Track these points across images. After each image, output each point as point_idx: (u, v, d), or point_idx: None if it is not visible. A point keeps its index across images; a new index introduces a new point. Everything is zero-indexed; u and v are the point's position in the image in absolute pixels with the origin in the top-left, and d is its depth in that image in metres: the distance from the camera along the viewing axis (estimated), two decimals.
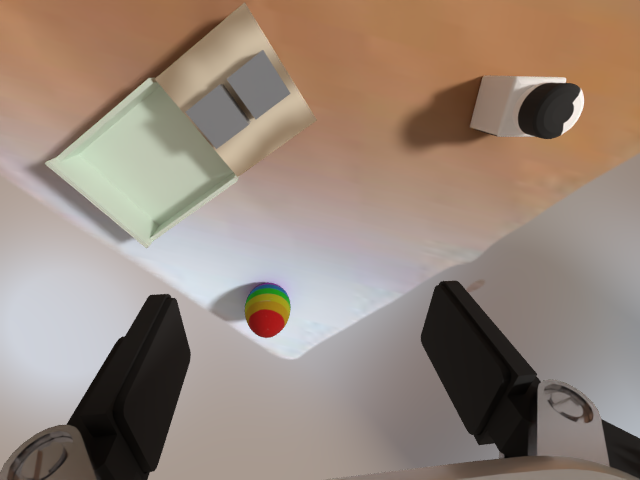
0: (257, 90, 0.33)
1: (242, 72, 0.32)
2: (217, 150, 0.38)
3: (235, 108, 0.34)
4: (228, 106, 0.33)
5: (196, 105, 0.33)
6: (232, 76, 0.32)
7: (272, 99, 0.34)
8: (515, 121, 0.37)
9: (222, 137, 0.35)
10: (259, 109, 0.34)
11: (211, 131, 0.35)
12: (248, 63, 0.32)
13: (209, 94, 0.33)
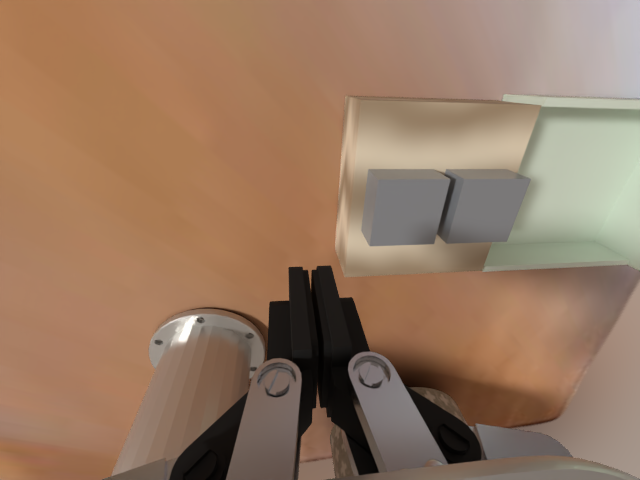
0: (414, 211, 0.21)
1: (412, 239, 0.22)
2: (517, 164, 0.23)
3: (457, 209, 0.21)
4: (462, 216, 0.21)
5: (489, 240, 0.23)
6: (425, 242, 0.22)
7: (407, 188, 0.20)
8: None
9: (508, 187, 0.21)
10: (433, 188, 0.20)
11: (509, 203, 0.21)
12: (397, 243, 0.22)
13: (466, 241, 0.22)
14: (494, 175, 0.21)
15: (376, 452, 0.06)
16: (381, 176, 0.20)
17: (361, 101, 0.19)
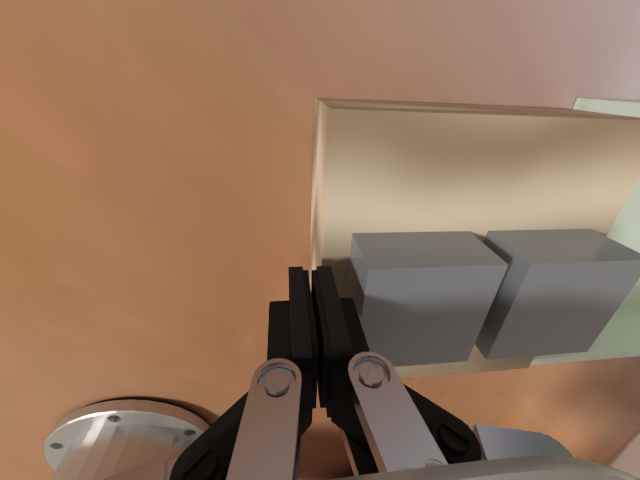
0: (436, 316, 0.11)
1: (429, 356, 0.12)
2: (610, 221, 0.13)
3: (512, 310, 0.11)
4: (518, 321, 0.12)
5: (559, 351, 0.13)
6: (452, 359, 0.12)
7: (424, 282, 0.10)
8: None
9: (608, 274, 0.11)
10: (475, 280, 0.10)
11: (605, 298, 0.12)
12: (402, 363, 0.12)
13: (519, 355, 0.13)
14: (580, 249, 0.11)
15: (376, 452, 0.06)
16: (375, 257, 0.10)
17: (333, 112, 0.09)
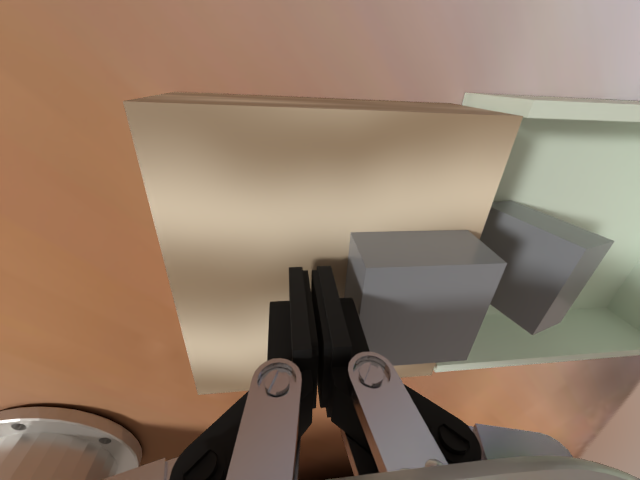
0: (435, 315, 0.11)
1: (428, 355, 0.12)
2: (480, 222, 0.12)
3: None
4: None
5: None
6: (451, 358, 0.12)
7: (422, 281, 0.10)
8: None
9: None
10: (473, 279, 0.10)
11: None
12: (401, 362, 0.12)
13: None
14: (541, 217, 0.15)
15: (376, 452, 0.06)
16: (373, 256, 0.10)
17: (126, 104, 0.09)
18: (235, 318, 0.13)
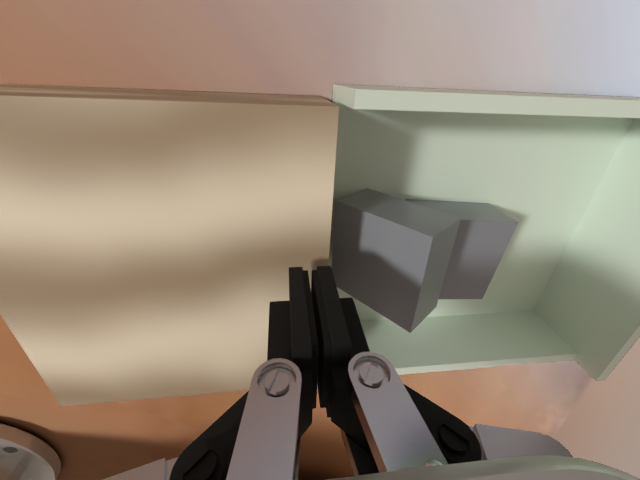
0: None
1: None
2: (325, 223, 0.11)
3: None
4: None
5: None
6: None
7: None
8: None
9: None
10: None
11: None
12: None
13: None
14: (450, 206, 0.16)
15: (376, 452, 0.06)
16: (444, 219, 0.12)
17: None
18: (75, 327, 0.12)
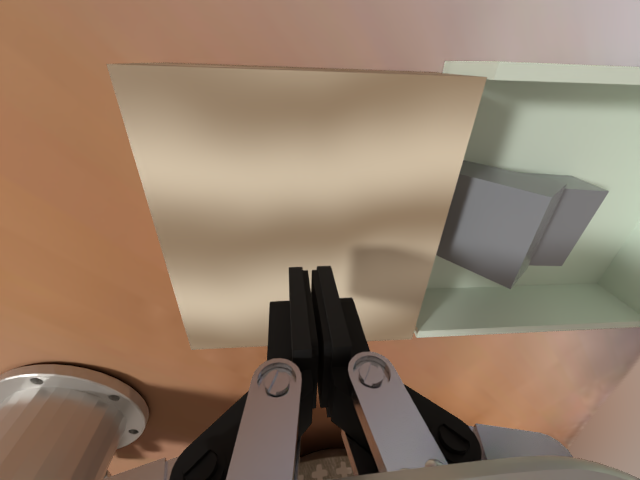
0: None
1: None
2: (450, 185, 0.13)
3: None
4: None
5: None
6: None
7: None
8: None
9: None
10: None
11: None
12: None
13: None
14: None
15: (376, 452, 0.06)
16: (552, 184, 0.14)
17: (109, 67, 0.10)
18: (221, 276, 0.14)
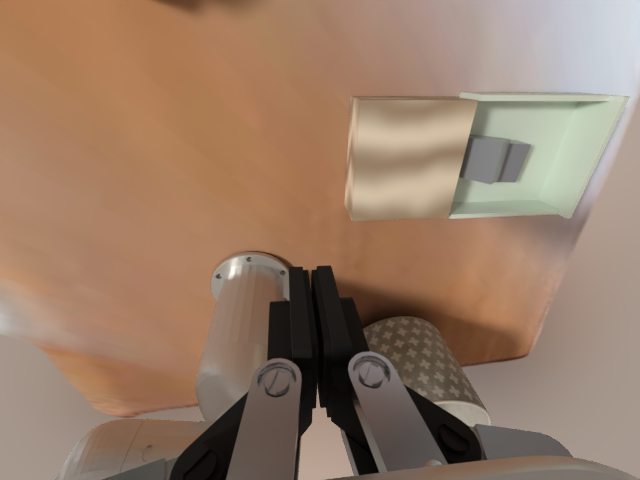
0: None
1: None
2: (466, 140, 0.34)
3: None
4: None
5: None
6: None
7: None
8: None
9: None
10: None
11: None
12: None
13: None
14: None
15: (376, 452, 0.06)
16: (504, 139, 0.35)
17: (361, 101, 0.31)
18: (374, 181, 0.35)
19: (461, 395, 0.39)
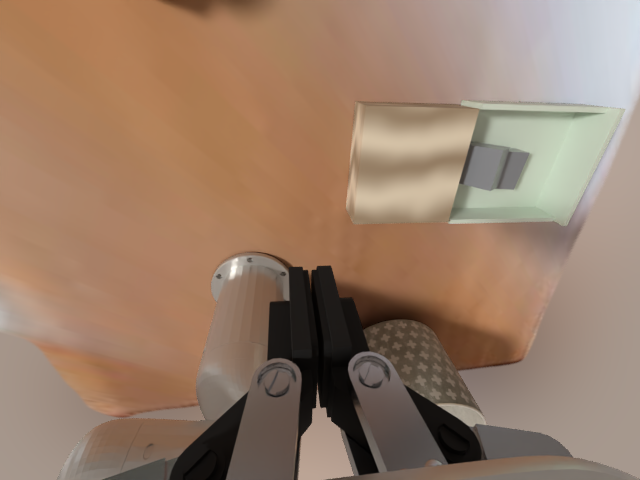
0: None
1: None
2: (467, 147, 0.35)
3: None
4: None
5: None
6: None
7: None
8: None
9: None
10: None
11: None
12: None
13: None
14: None
15: (376, 452, 0.06)
16: (504, 147, 0.36)
17: (366, 106, 0.31)
18: (376, 185, 0.36)
19: (458, 398, 0.39)
